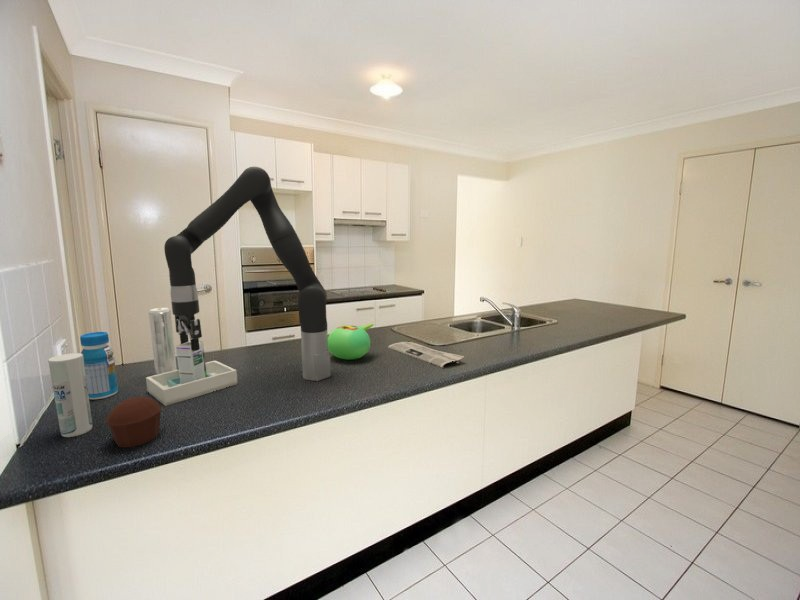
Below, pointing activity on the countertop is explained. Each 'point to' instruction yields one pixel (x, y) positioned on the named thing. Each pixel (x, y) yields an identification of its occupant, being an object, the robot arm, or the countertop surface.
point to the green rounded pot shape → (349, 341)
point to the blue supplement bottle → (99, 365)
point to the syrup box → (191, 362)
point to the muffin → (134, 421)
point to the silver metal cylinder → (162, 340)
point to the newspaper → (425, 353)
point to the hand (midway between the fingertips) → (190, 348)
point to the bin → (190, 383)
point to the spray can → (71, 394)
